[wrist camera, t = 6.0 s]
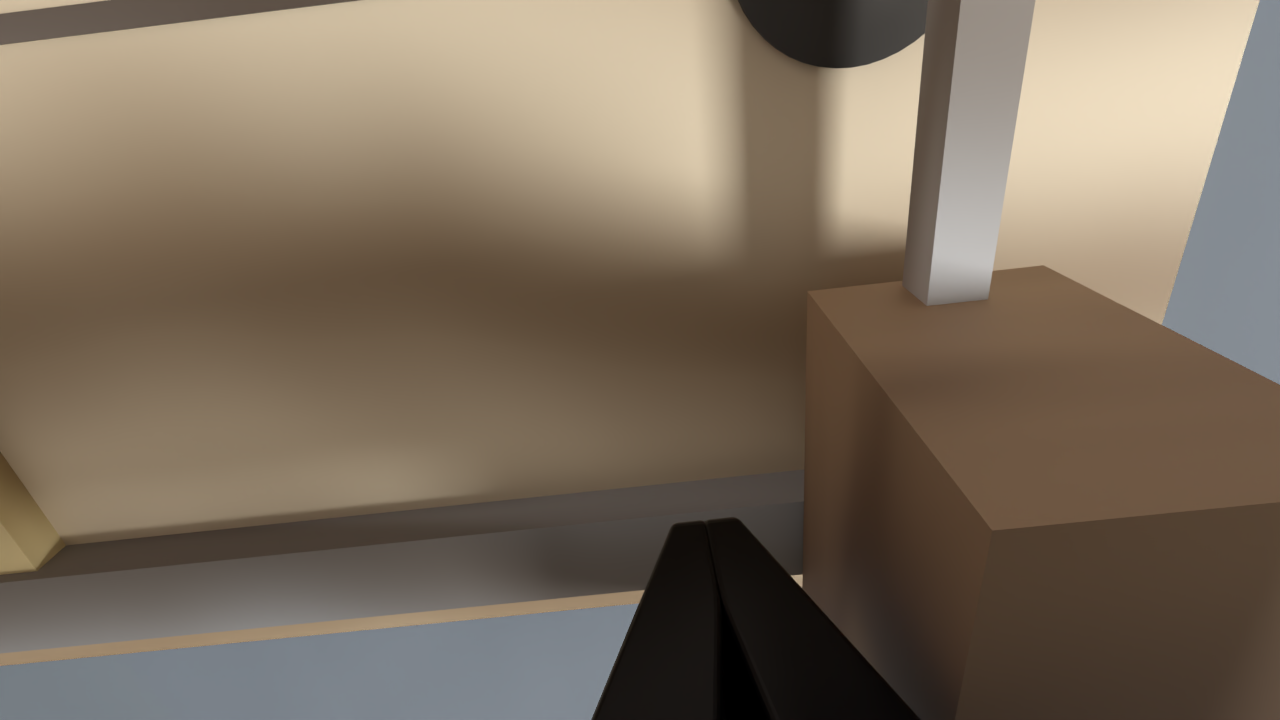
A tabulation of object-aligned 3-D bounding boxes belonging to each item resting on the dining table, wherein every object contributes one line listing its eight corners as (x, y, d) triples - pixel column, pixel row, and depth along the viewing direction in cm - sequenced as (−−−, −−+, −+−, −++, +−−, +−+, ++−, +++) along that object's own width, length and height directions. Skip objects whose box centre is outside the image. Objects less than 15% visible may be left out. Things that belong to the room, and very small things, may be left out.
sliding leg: (962, 578, 11) (1189, 928, 7) (794, 595, 11) (908, 952, 7) (1103, -213, 6) (2345, -895, 2) (801, -175, 6) (1245, -738, 2)
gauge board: (1051, 515, 13) (1138, 610, 11) (-112, 632, 13) (-253, 743, 11) (1277, -383, 7) (1575, -580, 5) (-813, -101, 7) (-1391, -163, 5)
